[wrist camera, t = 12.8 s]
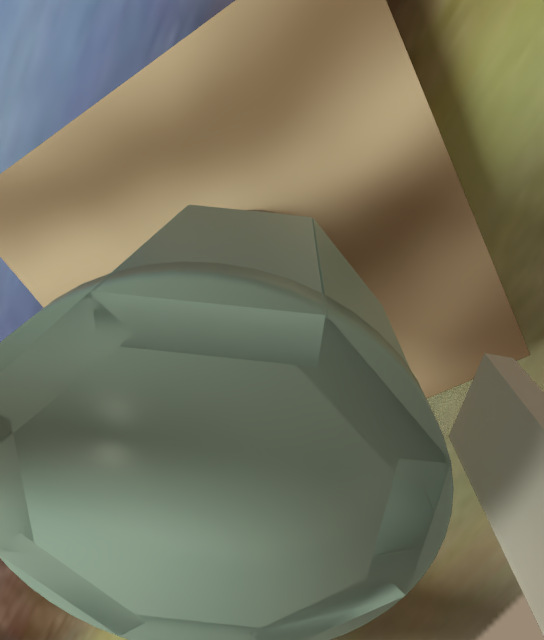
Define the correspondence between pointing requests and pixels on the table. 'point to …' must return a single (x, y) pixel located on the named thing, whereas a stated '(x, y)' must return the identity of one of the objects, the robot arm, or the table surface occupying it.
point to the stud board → (275, 172)
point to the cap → (219, 441)
